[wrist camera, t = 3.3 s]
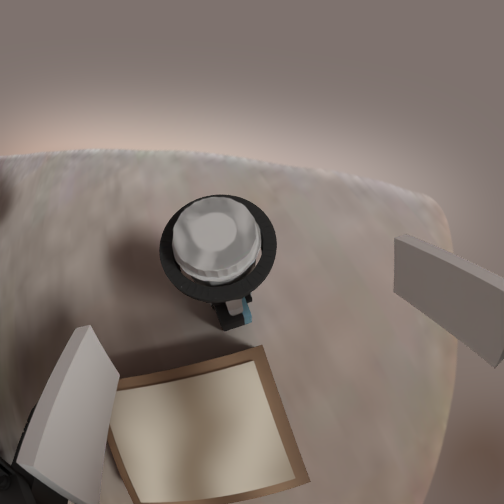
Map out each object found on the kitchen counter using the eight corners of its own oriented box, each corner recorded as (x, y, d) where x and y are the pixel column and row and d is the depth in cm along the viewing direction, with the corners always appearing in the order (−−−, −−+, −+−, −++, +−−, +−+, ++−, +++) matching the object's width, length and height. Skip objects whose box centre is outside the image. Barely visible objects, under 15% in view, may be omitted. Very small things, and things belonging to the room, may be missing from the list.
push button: (183, 262, 21) (142, 182, 12) (245, 242, 22) (243, 152, 13) (207, 342, 19) (167, 311, 10) (276, 318, 20) (299, 266, 10)
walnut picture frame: (150, 495, 13) (135, 510, 10) (111, 383, 17) (89, 383, 14) (302, 467, 14) (311, 483, 11) (260, 349, 19) (262, 344, 16)
